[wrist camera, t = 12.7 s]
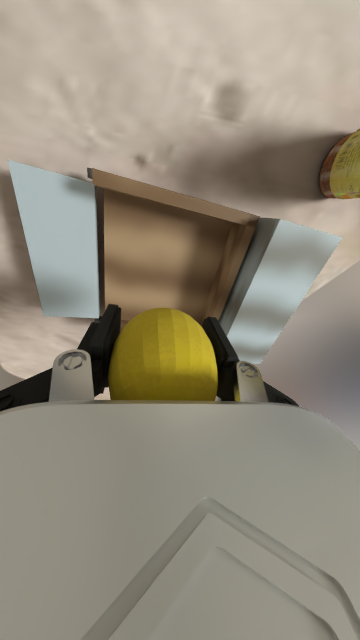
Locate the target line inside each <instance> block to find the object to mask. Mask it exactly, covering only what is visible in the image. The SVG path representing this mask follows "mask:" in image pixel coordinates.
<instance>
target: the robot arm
mask: <svg viewBox="0 0 360 640" xmlns="http://www.w3.org/2000/svg"><path fill="white" fill-rule="evenodd" d="M202 328H203V330H204V331H205V333H206V335H207V336H208V338H209V340H210V342H211V344H212V347H213V350H214V354H215V359H216V364H217V371H218V388H217V394H216V396H218V401H172V400H94V397H95V396H97V395H98V394H100V393H103V392H104V388H105V387H108V386H109V383H108V369H109V362H110V358H111V353H112V350H113V346H114V343H115V341H116V339H117V337H118V336H119V334H120V329H121V307H118V305H115V304H108V306H107V308H106V311H105V313H104V315H103V317H102V319H101V321H100V323H96V322H92V323H91V325H90V327H89V328H88V330H87V332H86V334H85V336H84V337H83V339H82V341H81V343H80V345H79V346H78V348H77V349H75V350H69V351H66V352H63V353H61V354H60V355H58V356H57V357H56V359H55V360H54V363H53V368H51V369H49V370H46V371H44V372H42V373H40V374H37V375H35V376H33V377H31V378H28V379H26V380H24V381H21V382H19V383H17V384H15V385H12V386H10V387H8V388H6V389H4V390H1V391H0V640H360V451H359V450H358V449H357V447H356V446H355V445H354V444H353V443H352V442H351V441H350V440H349V438H348V437H347V436H346V435H345V434H344V433H343V432H342V431H341V430H340V429H339V428H338V427H337V426H336V425H335V424H334V423H333V422H332V421H330V420H329V419H327V418H326V417H324V416H322V415H320V414H318V413H316V412H314V411H311V410H309V409H306V408H303V407H299V405H298V404H296V402H295V401H293V400H292V399H291V398H289V397H288V396H286V395H285V394H283V393H281V392H280V391H278V390H277V389H275V388H273V387H272V386H270V385H268V384H267V383H265V382H264V381H263V380H262V376H261V373H260V371H259V370H258V368H257V367H256V366H254V365H253V364H251V363H249V362H246V361H240V360H239V359H238V355H237V354H236V352H235V350H234V348H233V347H232V345H231V343H230V341H229V340H228V338H227V336H226V334H225V332H224V331H223V329H222V327H221V325H220V324H219V322H218V320H217V318H216V317H207V318H205V319H204V321H203V324H202Z"/></svg>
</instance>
